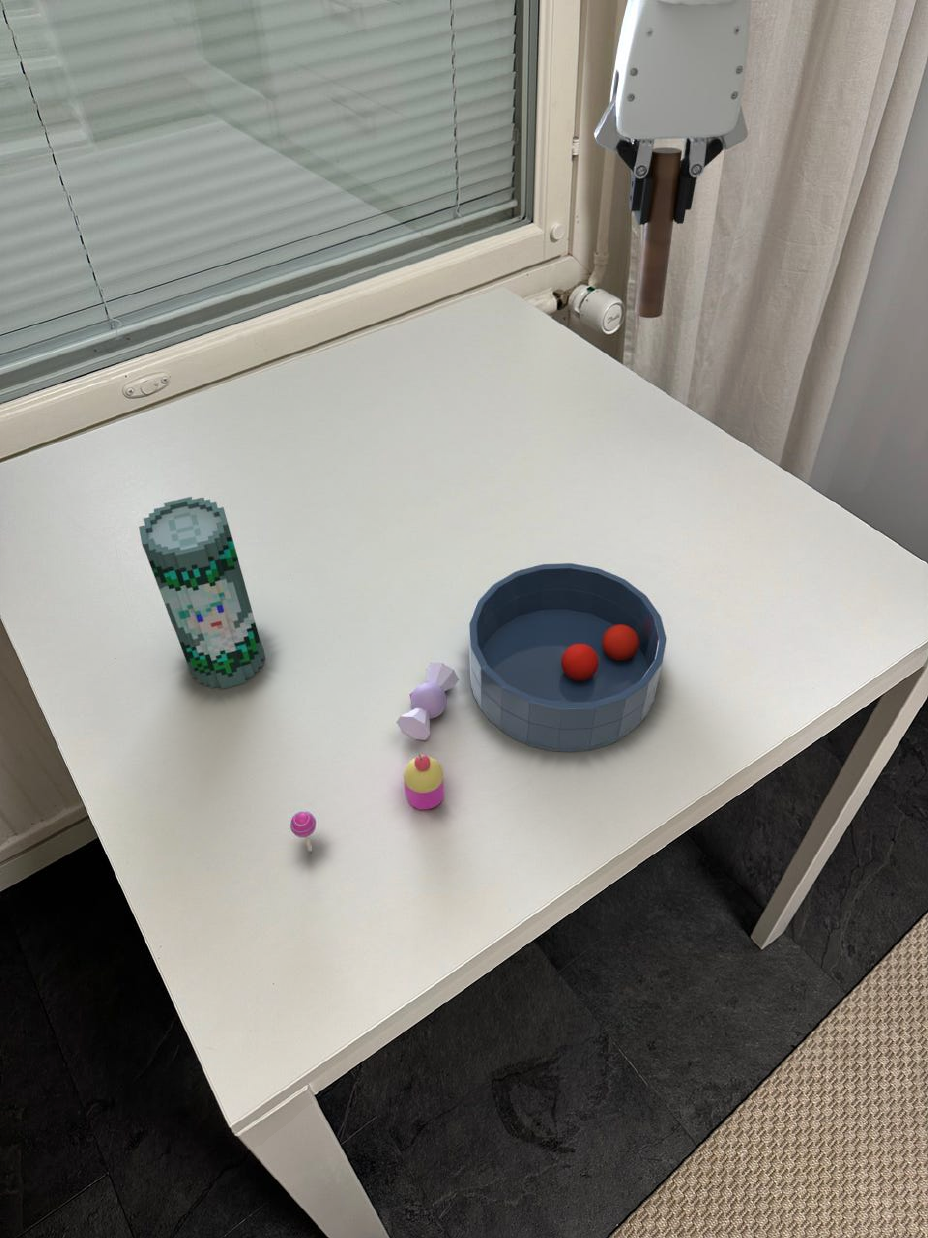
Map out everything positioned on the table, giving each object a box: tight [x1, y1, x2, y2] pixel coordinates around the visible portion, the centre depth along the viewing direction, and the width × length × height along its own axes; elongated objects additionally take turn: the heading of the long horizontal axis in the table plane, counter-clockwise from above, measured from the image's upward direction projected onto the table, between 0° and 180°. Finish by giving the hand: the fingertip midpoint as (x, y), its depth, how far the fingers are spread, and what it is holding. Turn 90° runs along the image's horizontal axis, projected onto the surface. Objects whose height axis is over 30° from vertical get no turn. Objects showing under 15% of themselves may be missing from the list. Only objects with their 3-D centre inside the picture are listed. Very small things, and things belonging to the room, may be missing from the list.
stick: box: [634, 146, 683, 319], centre depth 81 cm, size 3×3×14 cm
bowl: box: [468, 562, 668, 753], centre depth 72 cm, size 15×15×6 cm
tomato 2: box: [602, 624, 639, 661], centre depth 73 cm, size 3×3×3 cm
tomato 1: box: [561, 644, 599, 681], centre depth 72 cm, size 3×3×3 cm
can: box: [138, 496, 266, 690], centre depth 70 cm, size 6×6×15 cm
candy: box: [289, 662, 460, 853], centre depth 65 cm, size 18×8×6 cm, turn 157°
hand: (658, 215), depth 80 cm, fingers closed on stick, 2 cm apart
